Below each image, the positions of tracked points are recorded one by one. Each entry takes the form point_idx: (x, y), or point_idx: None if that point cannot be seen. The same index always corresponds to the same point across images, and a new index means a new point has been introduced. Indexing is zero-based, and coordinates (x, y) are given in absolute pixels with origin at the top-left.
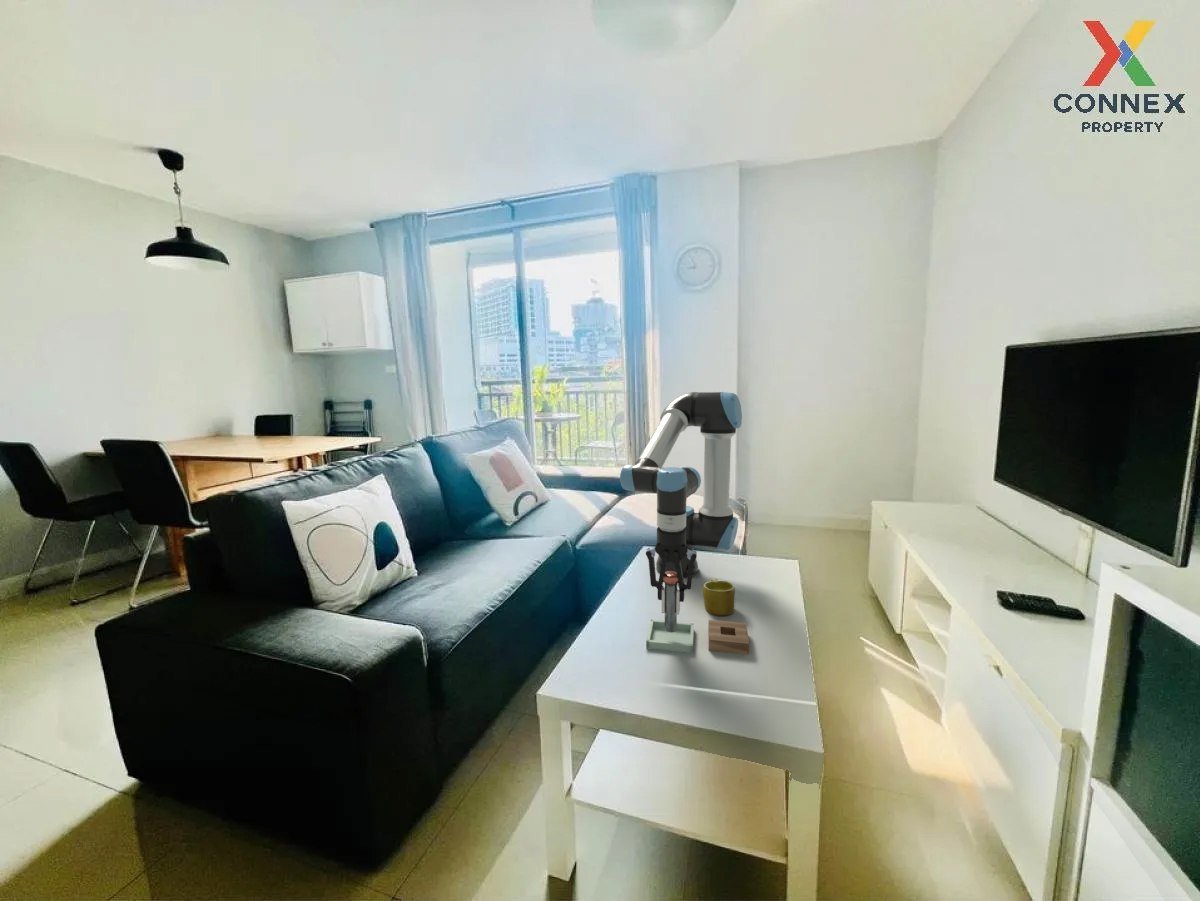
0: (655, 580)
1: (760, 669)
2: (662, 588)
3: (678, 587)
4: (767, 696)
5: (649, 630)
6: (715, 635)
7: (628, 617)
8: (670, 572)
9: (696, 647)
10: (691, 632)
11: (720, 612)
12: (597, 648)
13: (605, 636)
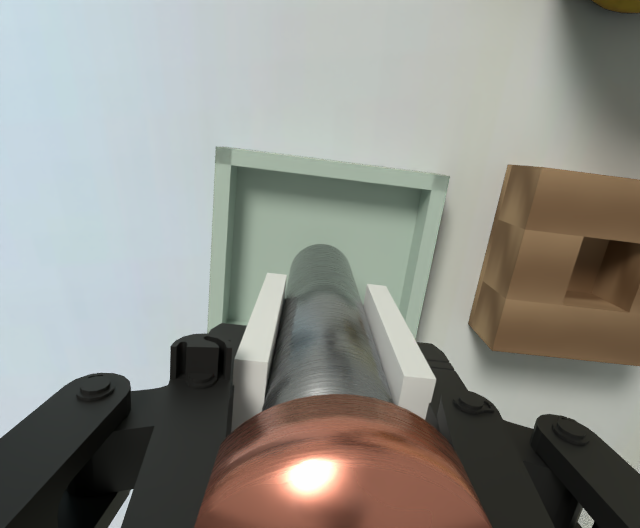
0: (111, 444)
1: (624, 406)
2: (234, 421)
3: (417, 388)
4: (586, 514)
5: (215, 257)
6: (532, 316)
7: (93, 45)
8: (335, 524)
9: (425, 296)
10: (422, 259)
11: (638, 6)
12: (14, 330)
13: (21, 241)
